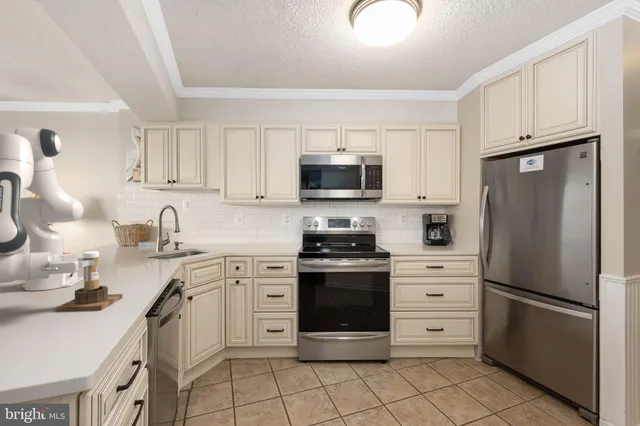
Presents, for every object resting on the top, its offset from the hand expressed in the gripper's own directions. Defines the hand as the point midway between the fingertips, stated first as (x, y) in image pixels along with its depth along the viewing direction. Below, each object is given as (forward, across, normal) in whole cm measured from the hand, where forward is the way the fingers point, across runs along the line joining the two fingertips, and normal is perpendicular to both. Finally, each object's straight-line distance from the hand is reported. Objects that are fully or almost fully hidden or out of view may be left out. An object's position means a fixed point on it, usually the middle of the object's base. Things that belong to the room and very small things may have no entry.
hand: (94, 261), depth 109 cm
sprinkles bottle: (-1, 0, +10) cm, 10 cm away
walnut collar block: (-1, 0, +16) cm, 16 cm away
